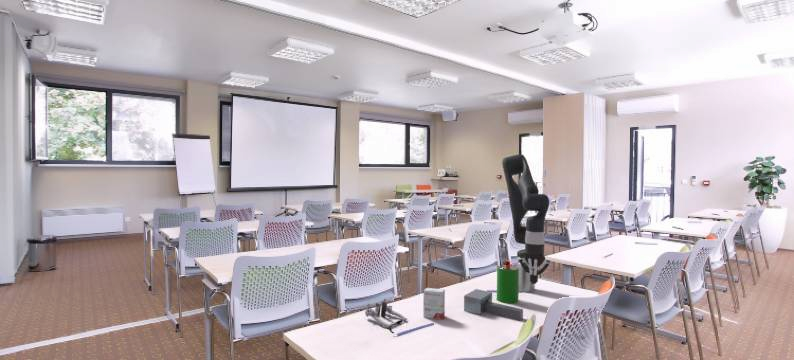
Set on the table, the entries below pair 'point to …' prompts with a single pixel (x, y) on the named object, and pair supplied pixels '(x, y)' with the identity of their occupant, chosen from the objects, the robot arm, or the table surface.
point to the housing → (476, 301)
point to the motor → (507, 284)
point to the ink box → (434, 303)
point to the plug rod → (503, 310)
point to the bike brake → (384, 314)
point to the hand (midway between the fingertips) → (533, 283)
